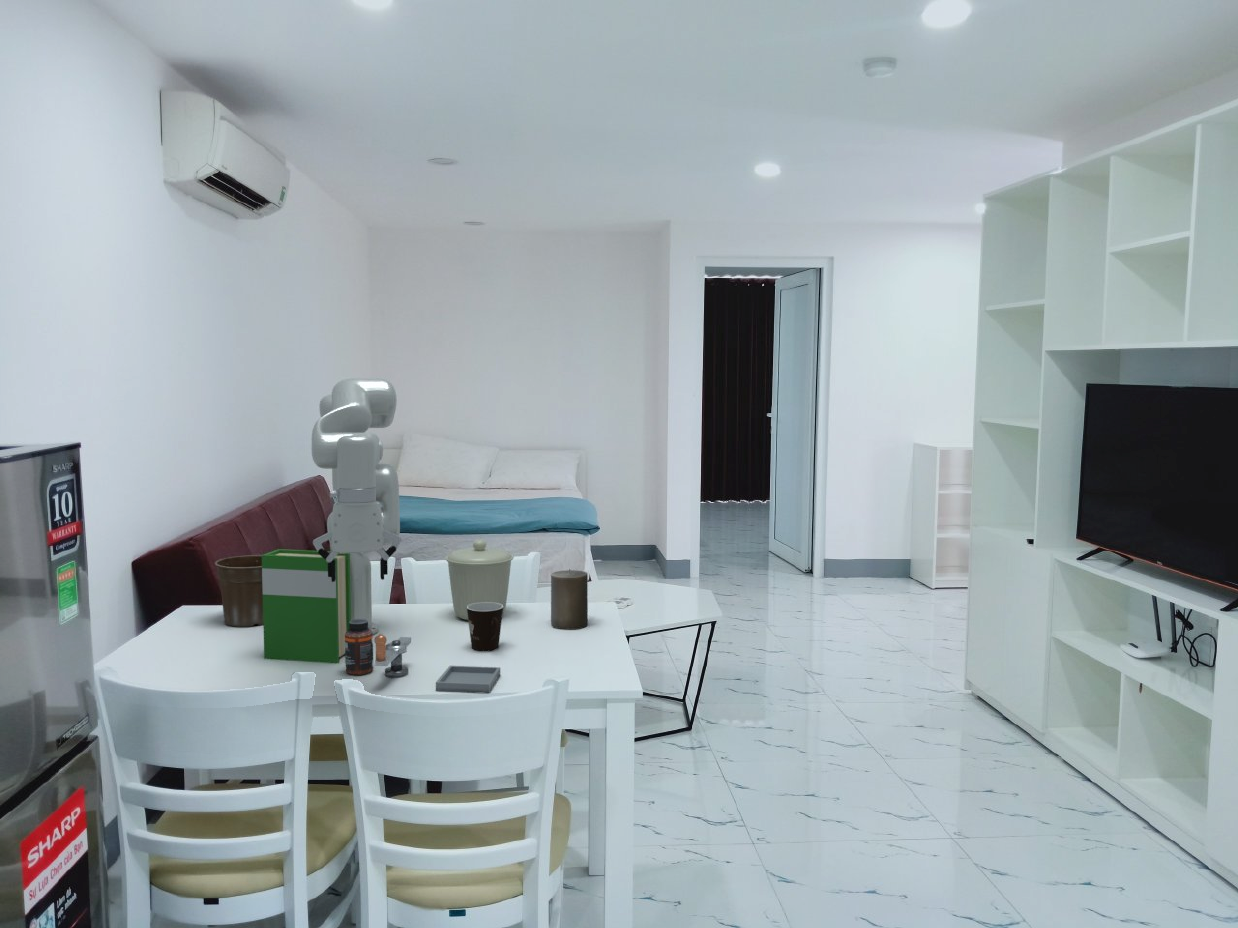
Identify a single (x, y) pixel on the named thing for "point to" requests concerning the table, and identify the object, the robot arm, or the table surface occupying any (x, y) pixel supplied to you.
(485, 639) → the coffee mug
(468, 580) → the canister
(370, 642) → the supplement bottle
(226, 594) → the plant pot
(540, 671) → the table surface
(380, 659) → the crank
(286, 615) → the hardback book
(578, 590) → the pillar candle
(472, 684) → the tray
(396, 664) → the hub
